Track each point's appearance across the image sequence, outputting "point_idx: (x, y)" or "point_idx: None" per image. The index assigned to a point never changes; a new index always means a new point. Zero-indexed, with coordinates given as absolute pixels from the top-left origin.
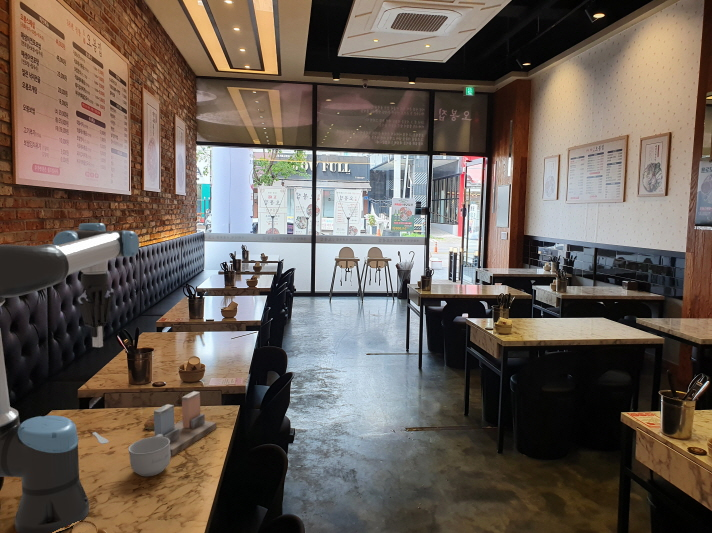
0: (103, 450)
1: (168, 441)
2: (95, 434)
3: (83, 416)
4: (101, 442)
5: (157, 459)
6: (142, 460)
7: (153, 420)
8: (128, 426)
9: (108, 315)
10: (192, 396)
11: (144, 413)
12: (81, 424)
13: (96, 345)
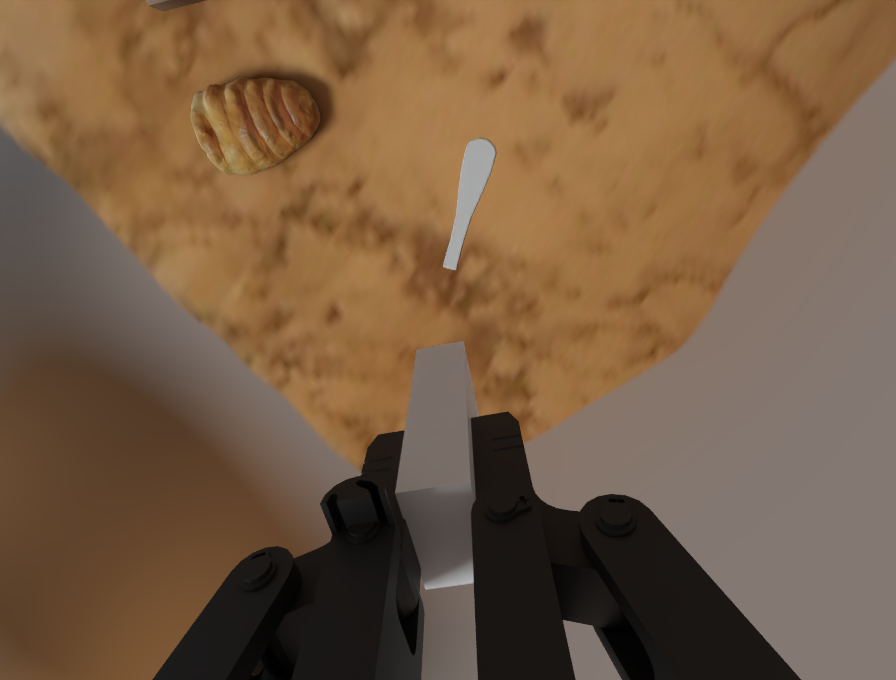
0: (529, 83)
1: None
2: (457, 245)
3: (388, 418)
4: (489, 158)
5: None
6: None
7: (276, 105)
8: (343, 210)
9: (184, 669)
10: None
11: (235, 271)
12: None
13: (470, 380)
